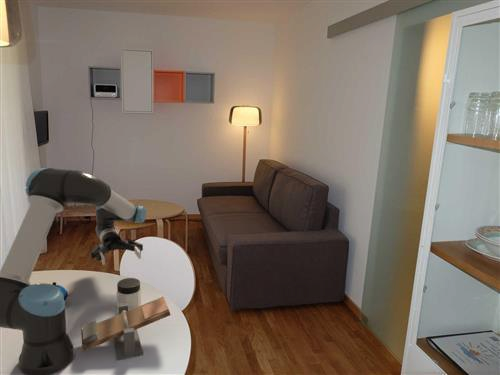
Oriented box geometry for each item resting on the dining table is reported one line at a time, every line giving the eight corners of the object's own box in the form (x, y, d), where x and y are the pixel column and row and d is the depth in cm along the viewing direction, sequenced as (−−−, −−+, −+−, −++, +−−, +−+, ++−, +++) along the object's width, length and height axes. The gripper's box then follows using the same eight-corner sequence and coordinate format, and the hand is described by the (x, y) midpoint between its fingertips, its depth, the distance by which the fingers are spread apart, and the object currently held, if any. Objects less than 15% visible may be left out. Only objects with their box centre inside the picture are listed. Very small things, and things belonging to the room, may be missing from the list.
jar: (120, 320, 147) (119, 290, 144) (114, 309, 154) (113, 280, 151) (144, 313, 152) (144, 284, 149) (137, 303, 159) (137, 275, 156)
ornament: (59, 313, 150) (57, 289, 147) (38, 310, 151) (36, 286, 149) (73, 302, 158) (71, 278, 155) (52, 299, 159) (51, 275, 157)
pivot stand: (116, 360, 126) (115, 335, 124) (111, 328, 142) (110, 305, 140) (143, 355, 129) (142, 330, 127) (135, 323, 145) (134, 301, 143)
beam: (84, 354, 124) (79, 345, 123) (82, 331, 136) (79, 322, 135) (171, 317, 133) (168, 308, 132) (163, 298, 145) (160, 289, 143)
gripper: (139, 243, 182) (154, 261, 164) (80, 252, 170) (88, 273, 152) (139, 227, 180) (153, 244, 162) (79, 235, 168) (87, 255, 150)
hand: (122, 258), depth 157 cm, fingers open, 13 cm apart
